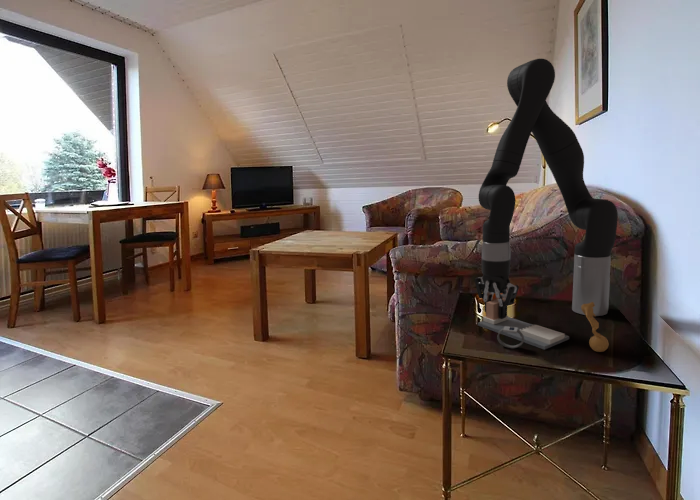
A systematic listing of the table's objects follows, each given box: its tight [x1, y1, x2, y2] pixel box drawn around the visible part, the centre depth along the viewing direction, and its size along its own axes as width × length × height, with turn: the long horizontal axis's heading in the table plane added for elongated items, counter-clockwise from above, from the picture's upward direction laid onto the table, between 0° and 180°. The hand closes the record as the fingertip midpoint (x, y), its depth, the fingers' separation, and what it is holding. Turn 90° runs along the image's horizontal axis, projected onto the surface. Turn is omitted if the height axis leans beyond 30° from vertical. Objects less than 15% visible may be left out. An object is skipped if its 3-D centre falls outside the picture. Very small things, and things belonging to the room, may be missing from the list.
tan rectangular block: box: [482, 298, 509, 325], centre depth 123 cm, size 6×4×6 cm, turn 121°
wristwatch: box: [496, 326, 525, 349], centre depth 107 cm, size 6×3×5 cm, turn 62°
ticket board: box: [477, 316, 570, 351], centre depth 116 cm, size 10×21×2 cm, turn 31°
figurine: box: [581, 302, 610, 353], centre depth 102 cm, size 8×6×12 cm
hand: (495, 315), depth 123 cm, fingers open, 4 cm apart
